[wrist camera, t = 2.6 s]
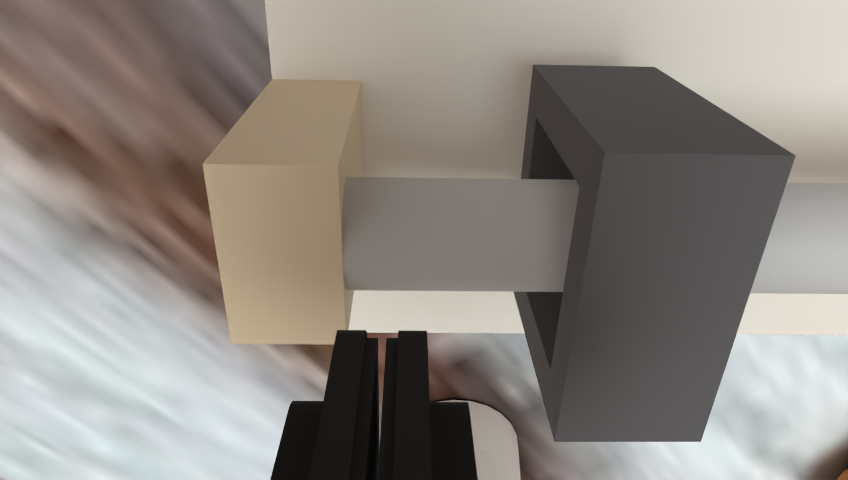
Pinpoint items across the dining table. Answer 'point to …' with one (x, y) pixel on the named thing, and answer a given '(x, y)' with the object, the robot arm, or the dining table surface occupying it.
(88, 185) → the dining table surface
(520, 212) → the pipe stand
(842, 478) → the potato
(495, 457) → the cup
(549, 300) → the collar
